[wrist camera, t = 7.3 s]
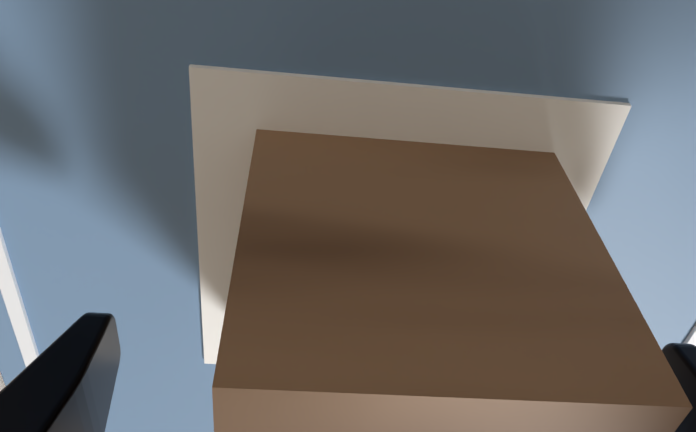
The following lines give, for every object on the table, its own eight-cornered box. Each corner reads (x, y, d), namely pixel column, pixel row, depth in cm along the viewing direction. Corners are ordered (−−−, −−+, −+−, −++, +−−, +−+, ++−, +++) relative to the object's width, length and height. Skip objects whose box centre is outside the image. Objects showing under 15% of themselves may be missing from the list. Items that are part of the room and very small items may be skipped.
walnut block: (483, 346, 14) (547, 599, 10) (252, 334, 13) (220, 595, 9) (554, 152, 10) (692, 407, 7) (256, 128, 10) (212, 387, 6)
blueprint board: (608, 442, 18) (624, 484, 17) (50, 422, 17) (33, 466, 16) (1028, -200, 9) (1123, -191, 8) (-206, -377, 7) (-294, -395, 6)
